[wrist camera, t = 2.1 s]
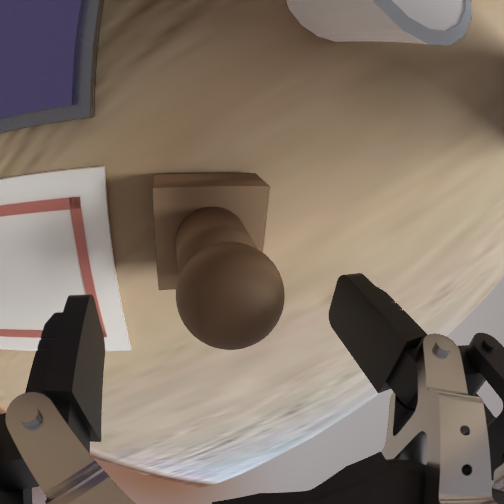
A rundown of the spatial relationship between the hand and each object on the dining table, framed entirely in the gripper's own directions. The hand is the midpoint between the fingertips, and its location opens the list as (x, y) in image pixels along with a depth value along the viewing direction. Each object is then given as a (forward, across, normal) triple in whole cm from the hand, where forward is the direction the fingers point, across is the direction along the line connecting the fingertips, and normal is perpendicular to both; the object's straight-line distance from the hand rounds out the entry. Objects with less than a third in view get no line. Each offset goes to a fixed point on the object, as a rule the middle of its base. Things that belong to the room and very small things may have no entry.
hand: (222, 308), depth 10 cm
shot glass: (+8, -6, -13) cm, 16 cm away
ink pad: (+8, +10, -10) cm, 16 cm away
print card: (+8, +10, +3) cm, 13 cm away
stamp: (+8, 0, 0) cm, 8 cm away
